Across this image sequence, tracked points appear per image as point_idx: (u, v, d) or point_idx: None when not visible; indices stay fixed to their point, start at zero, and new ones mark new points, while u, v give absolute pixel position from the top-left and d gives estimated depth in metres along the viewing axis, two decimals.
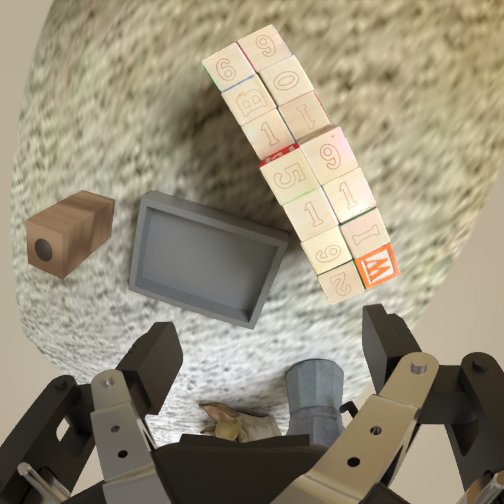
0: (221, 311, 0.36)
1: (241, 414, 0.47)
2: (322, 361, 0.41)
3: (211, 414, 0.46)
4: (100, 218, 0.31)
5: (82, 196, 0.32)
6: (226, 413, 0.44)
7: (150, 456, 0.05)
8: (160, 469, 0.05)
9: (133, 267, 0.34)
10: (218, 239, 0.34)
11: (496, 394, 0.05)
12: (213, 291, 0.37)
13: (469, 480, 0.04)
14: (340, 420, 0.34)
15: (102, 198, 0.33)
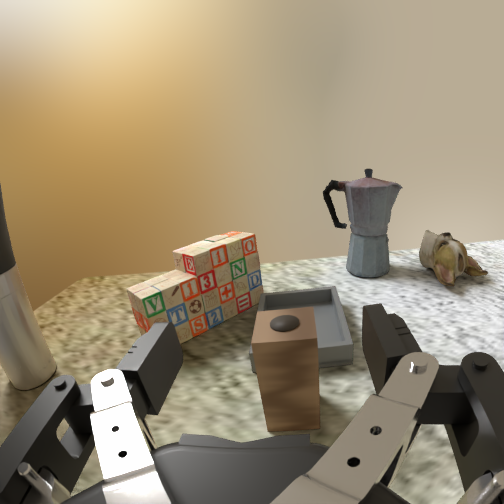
0: (334, 302, 0.44)
1: None
2: (348, 269, 0.58)
3: (452, 275, 0.44)
4: None
5: None
6: (436, 270, 0.46)
7: (150, 456, 0.05)
8: (160, 469, 0.05)
9: (324, 345, 0.33)
10: None
11: (496, 394, 0.05)
12: (326, 318, 0.43)
13: (469, 480, 0.04)
14: None
15: None
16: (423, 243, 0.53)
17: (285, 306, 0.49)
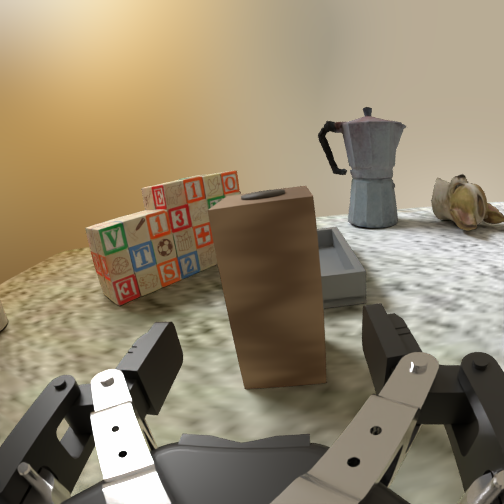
0: (336, 241, 0.36)
1: (453, 218, 0.41)
2: (350, 221, 0.50)
3: (472, 218, 0.36)
4: None
5: None
6: (454, 213, 0.38)
7: (150, 456, 0.05)
8: (160, 469, 0.05)
9: (326, 274, 0.25)
10: None
11: (496, 394, 0.05)
12: (327, 259, 0.35)
13: (469, 480, 0.04)
14: None
15: None
16: (435, 190, 0.44)
17: None
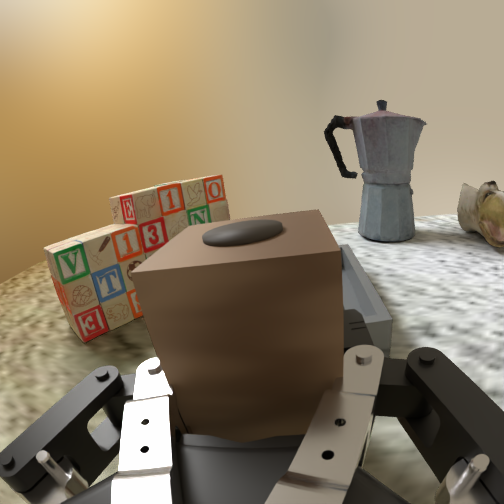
0: (348, 264, 0.28)
1: (481, 231, 0.33)
2: (361, 233, 0.43)
3: None
4: None
5: None
6: (484, 226, 0.30)
7: (171, 457, 0.05)
8: (180, 470, 0.05)
9: None
10: None
11: (451, 385, 0.06)
12: None
13: (441, 469, 0.05)
14: None
15: None
16: (462, 197, 0.37)
17: None
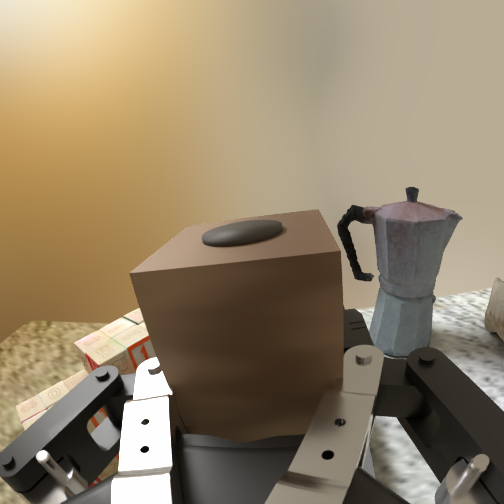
0: None
1: None
2: None
3: None
4: None
5: None
6: None
7: (171, 457, 0.05)
8: (180, 470, 0.05)
9: None
10: None
11: (451, 385, 0.06)
12: None
13: (441, 469, 0.05)
14: None
15: None
16: (492, 300, 0.30)
17: None
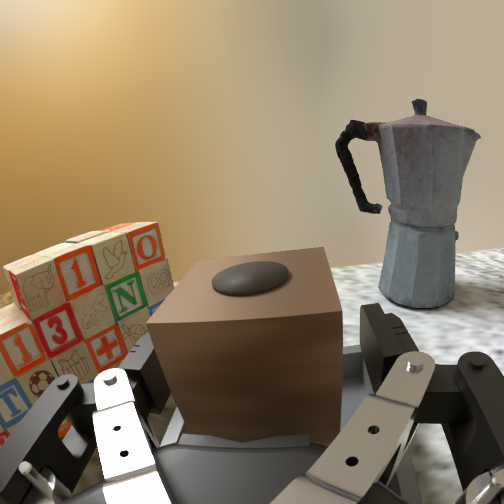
0: None
1: None
2: (384, 292, 0.30)
3: None
4: None
5: None
6: None
7: (151, 456, 0.05)
8: (161, 469, 0.05)
9: None
10: None
11: (493, 393, 0.05)
12: None
13: (467, 479, 0.05)
14: None
15: None
16: None
17: None
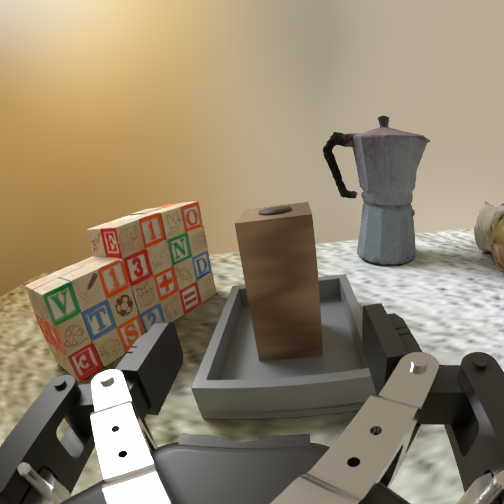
0: (344, 299, 0.27)
1: None
2: (360, 254, 0.42)
3: None
4: None
5: None
6: (494, 250, 0.29)
7: (150, 456, 0.05)
8: (160, 469, 0.05)
9: (331, 377, 0.17)
10: None
11: (496, 394, 0.05)
12: (333, 323, 0.27)
13: (469, 480, 0.04)
14: None
15: None
16: (480, 217, 0.35)
17: None
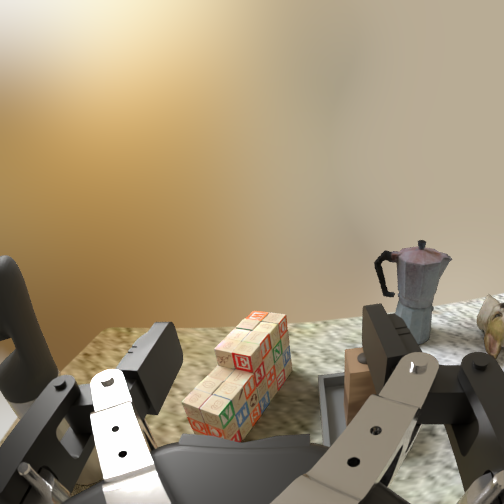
0: None
1: None
2: None
3: (497, 348, 0.40)
4: None
5: (346, 414, 0.37)
6: (486, 340, 0.42)
7: (150, 456, 0.05)
8: (160, 469, 0.05)
9: None
10: (340, 413, 0.40)
11: (496, 394, 0.05)
12: None
13: (469, 480, 0.04)
14: None
15: (344, 408, 0.40)
16: (482, 308, 0.48)
17: (341, 386, 0.45)
